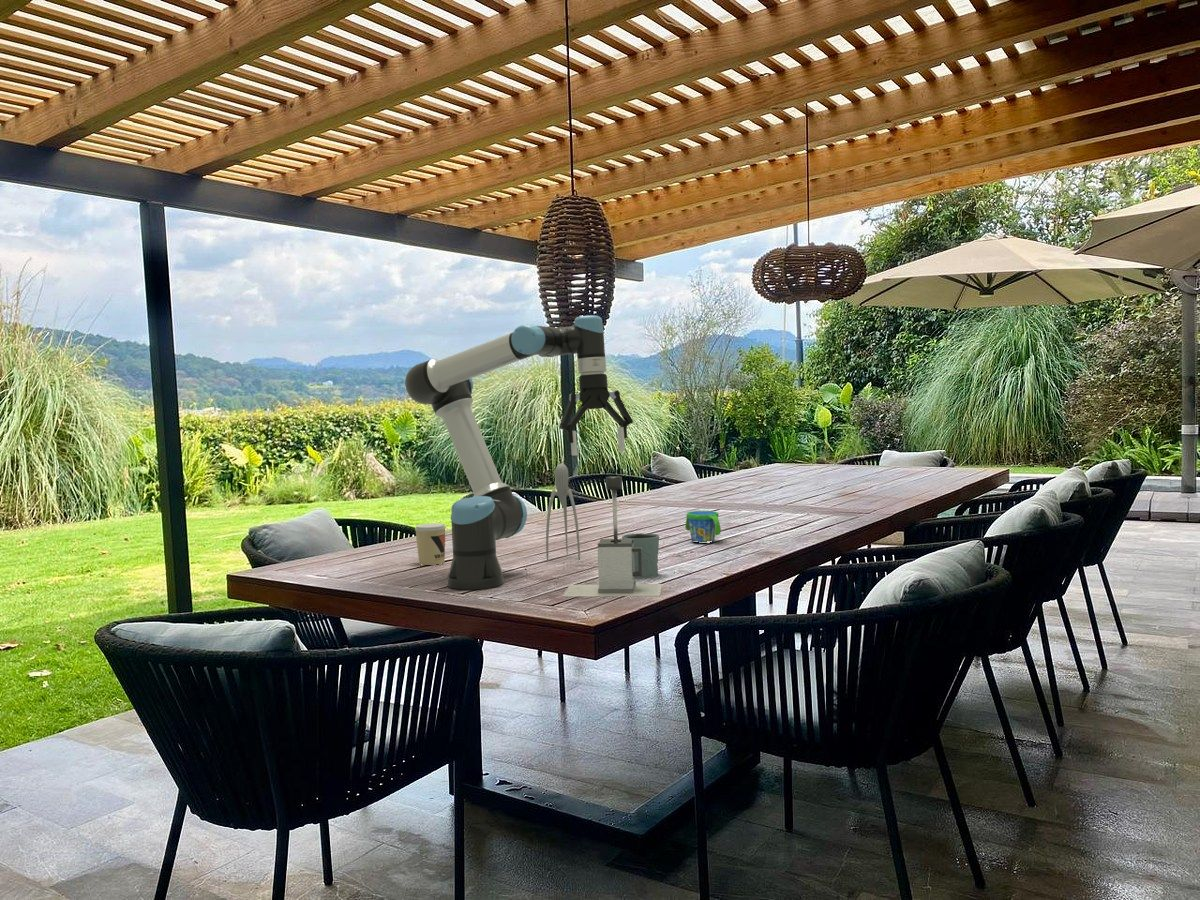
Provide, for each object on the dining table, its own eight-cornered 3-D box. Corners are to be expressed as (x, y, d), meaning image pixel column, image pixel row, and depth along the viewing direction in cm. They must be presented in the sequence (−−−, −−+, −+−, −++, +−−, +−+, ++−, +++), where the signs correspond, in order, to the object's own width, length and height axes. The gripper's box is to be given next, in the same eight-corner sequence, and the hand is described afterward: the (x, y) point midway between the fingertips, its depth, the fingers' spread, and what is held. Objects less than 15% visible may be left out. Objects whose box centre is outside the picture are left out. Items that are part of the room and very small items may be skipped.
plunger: (603, 551, 228) (600, 478, 227) (605, 547, 234) (603, 476, 233) (627, 551, 228) (624, 477, 227) (628, 547, 233) (626, 475, 232)
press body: (598, 593, 227) (596, 544, 227) (601, 586, 236) (600, 538, 236) (641, 592, 226) (640, 543, 226) (643, 585, 235) (642, 538, 234)
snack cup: (729, 543, 304) (729, 513, 304) (703, 547, 299) (702, 516, 299) (702, 538, 318) (702, 509, 317) (677, 541, 313) (676, 511, 312)
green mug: (629, 584, 244) (628, 539, 243) (618, 577, 253) (617, 534, 253) (665, 580, 246) (664, 536, 246) (653, 574, 256) (651, 531, 255)
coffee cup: (437, 566, 279) (436, 527, 278) (410, 565, 282) (409, 527, 281) (452, 561, 288) (451, 523, 287) (426, 560, 291) (424, 522, 290)
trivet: (562, 601, 225) (562, 596, 225) (570, 589, 239) (569, 584, 239) (659, 600, 223) (659, 595, 223) (662, 588, 237) (661, 583, 237)
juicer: (583, 555, 290) (580, 461, 289) (580, 560, 281) (576, 463, 280) (551, 556, 291) (547, 462, 290) (546, 561, 282) (543, 464, 281)
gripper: (552, 375, 237) (558, 457, 238) (640, 370, 246) (646, 449, 247) (544, 377, 244) (550, 457, 245) (630, 372, 253) (636, 449, 254)
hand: (598, 453), depth 246 cm, fingers open, 13 cm apart
